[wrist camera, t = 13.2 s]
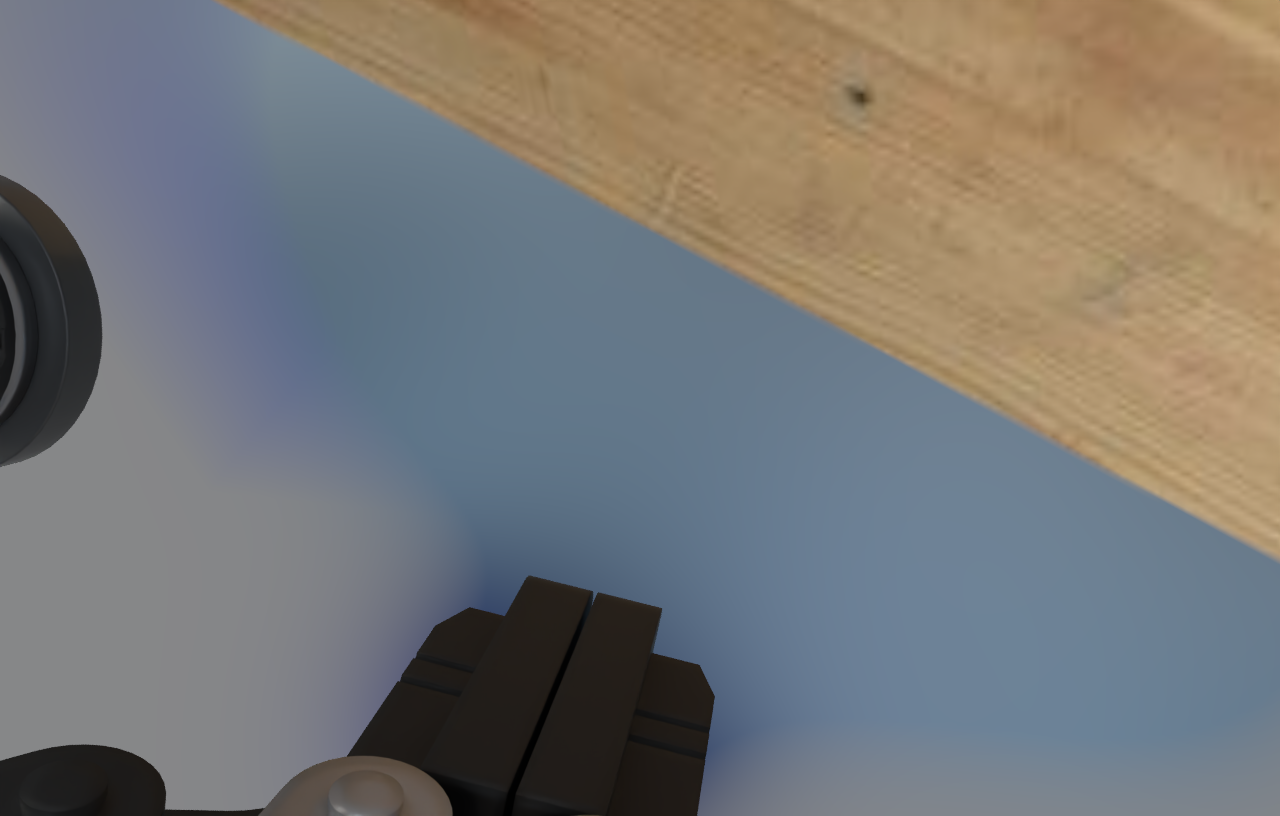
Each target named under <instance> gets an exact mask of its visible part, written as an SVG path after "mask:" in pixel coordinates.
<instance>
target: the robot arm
mask: <svg viewBox="0 0 1280 816" xmlns="http://www.w3.org/2000/svg"><path fill="white" fill-rule="evenodd" d="M37 347H38V327H37V318H36V311H35V306H34V301H33V298H32V294H31V291H30V288H29V285H28V283H27V280H26V277H25V275H24V273H23V271H22V269H21V267H20V265H19V263H18V262H17V260H16V258H15V257H14V255H13V253H12V252H11V251H10V249H9V248H8V246H7V245H6V244H5V242H4V241H3V240H2V239H1V238H0V425H1V424H2V423H3V422H4V421H5V420H6V419H7V418H8V417H9V416H10V415H11V414H12V413H13V412H14V410H15V409H16V408H17V406H18V405H19V403H20V402H21V400H22V398H23V396H24V395H25V393H26V391H27V388H28V386H29V384H30V381H31V378H32V375H33V371H34V367H35V362H36V356H37ZM592 601H593V591H590V590H586V589H581V588H578V587H573V586H570V585H566V584H561V583H558V582H553V581H550V580H546V579H541V578H537V577H533V576H528V577H527V578H526V580H525V581H524V583H523V585H522V587H521V589H520V590H519V592H518V594H517V596H516V597H515V599H514V601H513V603H512V605H511V606H510V608H509V610H508V612H507V613H506V615H505V616H502V615H498V614H494V613H490V612H486V611H482V610H478V609H474V608H470V607H469V608H467V609H466V610H464V611H462V612H460V613H458V614H456V615H454V616H453V617H451V618H449V619H447V620H445V621H443V622H441V623H440V624H438V625H436V626H435V627H434V628H433V630H432V631H431V633H430V634H429V636H428V637H427V639H426V640H425V642H424V643H423V645H422V646H421V648H420V649H419V651H418V652H417V656H416V658H415V659H414V658H413V660H412V661H411V662H410V664H409V665H408V667H407V669H406V670H405V671H404V673H403V674H402V677H401V680H400V682H399V681H398V682H397V683H396V685H395V686H394V688H393V689H392V690H391V692H390V693H389V695H388V696H387V698H386V699H385V701H384V702H383V704H382V705H381V707H380V708H379V710H378V711H377V713H376V714H375V716H374V717H373V719H372V720H371V721H370V723H369V725H368V726H367V727H366V729H365V730H364V732H363V733H362V735H361V736H360V738H359V739H358V741H357V742H356V744H355V745H354V747H353V748H352V749H351V751H350V753H349V754H348V755H347V757H342V758H338V759H332V760H328V761H325V762H322V763H319V764H316V765H314V766H312V767H310V768H308V769H306V770H304V771H302V772H301V773H299V774H298V775H297V776H295V777H293V779H291V780H290V781H289V782H288V783H287V784H286V785H285V786H284V787H283V788H282V789H281V790H280V791H279V793H278V794H277V795H276V796H275V797H274V799H272V801H271V802H270V803H269V804H268V805H267V806H266V807H265V808H262V809H255V810H245V811H206V810H165V801H166V790H165V786H164V782H163V780H162V778H161V776H160V774H159V773H158V771H157V770H156V769H155V768H154V767H153V766H152V765H151V764H149V763H148V762H147V761H145V760H144V759H143V758H141V757H139V756H137V755H135V754H133V753H130V752H127V751H124V750H121V749H118V748H112V747H107V746H100V745H99V746H98V745H66V746H59V747H51V748H47V749H43V750H38V751H34V752H31V753H27V754H23V755H20V756H16V757H12V758H9V759H5V760H2V761H0V816H697V812H698V805H699V799H700V792H701V785H702V779H703V772H704V765H705V757H706V752H707V745H708V739H709V730H710V724H711V718H712V712H713V704H714V698H715V696H714V694H713V692H712V690H711V688H710V686H709V684H708V682H707V680H706V678H705V676H704V674H703V671H702V669H701V667H700V665H698V664H693V663H689V662H685V661H682V660H677V659H674V658H670V657H665V656H661V655H658V654H654V653H653V649H654V644H655V640H656V636H657V631H658V627H659V622H660V618H661V613H662V608H659V607H655V606H651V605H647V604H643V603H639V602H635V601H631V600H627V599H623V598H619V597H615V596H611V595H606V594H602V593H597V595H596V598H595V600H594V602H593V605H592Z"/></svg>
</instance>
